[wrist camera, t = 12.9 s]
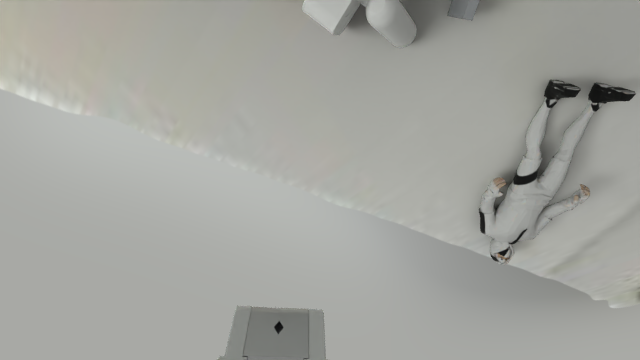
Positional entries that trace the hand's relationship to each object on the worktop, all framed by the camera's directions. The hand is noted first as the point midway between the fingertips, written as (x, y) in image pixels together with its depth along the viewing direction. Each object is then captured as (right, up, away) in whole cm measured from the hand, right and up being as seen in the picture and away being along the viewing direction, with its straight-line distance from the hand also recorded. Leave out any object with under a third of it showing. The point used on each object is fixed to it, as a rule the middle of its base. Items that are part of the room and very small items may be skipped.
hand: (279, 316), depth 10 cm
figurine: (+33, +5, +36) cm, 49 cm away
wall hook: (+7, +24, +22) cm, 33 cm away
